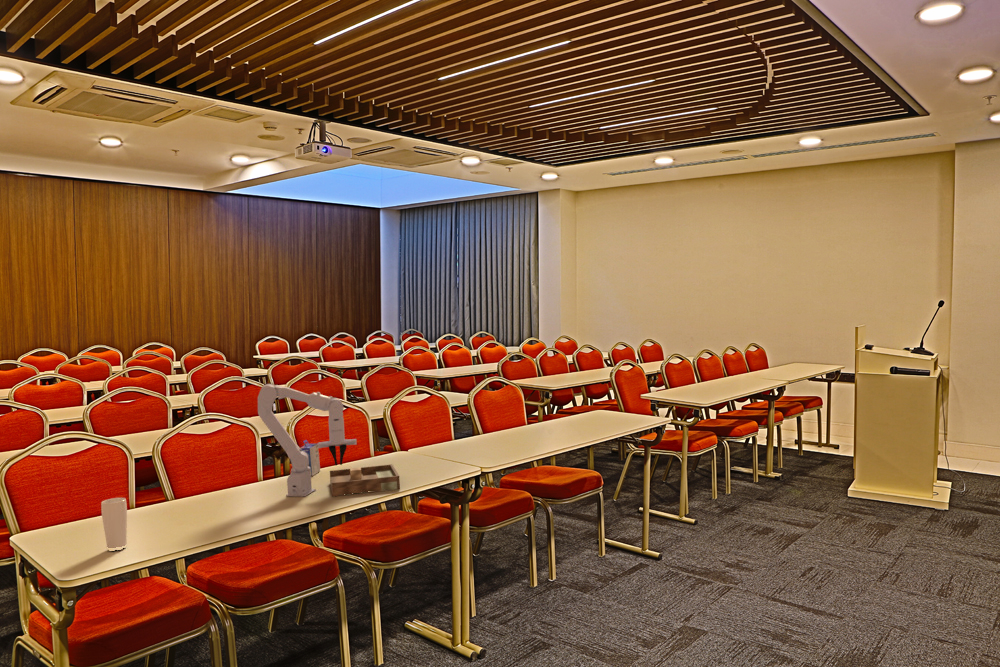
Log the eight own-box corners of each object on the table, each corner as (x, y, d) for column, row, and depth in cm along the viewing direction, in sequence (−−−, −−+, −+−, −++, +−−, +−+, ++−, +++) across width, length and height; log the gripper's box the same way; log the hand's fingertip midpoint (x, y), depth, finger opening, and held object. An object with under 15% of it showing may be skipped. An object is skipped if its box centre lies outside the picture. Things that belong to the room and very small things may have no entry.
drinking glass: (129, 544, 224) (126, 496, 223) (129, 550, 218) (126, 501, 217) (104, 548, 221) (101, 499, 220) (104, 554, 215) (100, 504, 214)
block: (351, 480, 280) (350, 470, 279) (350, 478, 283) (349, 468, 283) (361, 479, 281) (361, 469, 281) (360, 477, 285) (360, 467, 284)
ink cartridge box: (308, 471, 314) (306, 438, 313) (320, 471, 313) (318, 437, 313) (299, 476, 304) (297, 442, 303) (312, 476, 303) (310, 442, 303)
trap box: (332, 496, 269) (332, 483, 269) (330, 483, 290) (329, 470, 290) (399, 488, 276) (399, 475, 276) (392, 476, 297) (392, 464, 297)
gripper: (354, 426, 285) (356, 460, 286) (317, 429, 282) (319, 464, 282) (356, 429, 279) (358, 464, 279) (317, 432, 275) (319, 468, 275)
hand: (338, 464), depth 280 cm, fingers closed
